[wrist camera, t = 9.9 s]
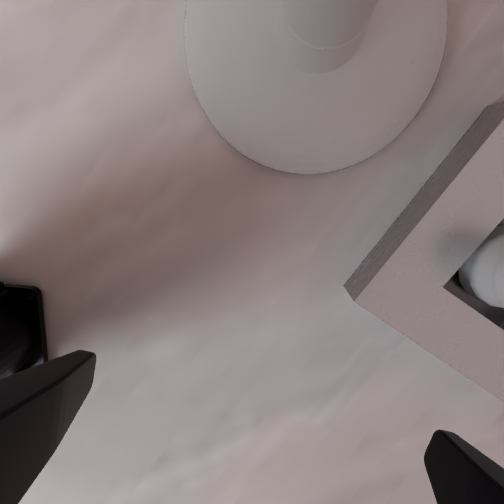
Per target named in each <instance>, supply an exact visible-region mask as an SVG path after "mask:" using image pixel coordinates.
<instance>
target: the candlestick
mask: <svg viewBox="0 0 504 504" xmlns="http://www.w3.org/2000/svg"><path fill="white" fill-rule="evenodd" d="M447 24H448V8H447V0H188V3H187V9H186V17H185V37H184V39H185V54H186V61H187V67H188V72H189V76H190V79H191V83H192V86H193V89H194V91H195V94H196V96H197V99H198V101H199V103H200V105H201V107H202V109H203V111H204V112H205V114H206V116H207V117H208V119H209V120H210V122H211V123H212V125H213V126H214V127H215V129H216V130H217V131H218V132H219V134H220V135H221V136H222V137H223V138H224V139H225V140H226V141H227V142H228V143H229V144H230V145H232V146H233V147H234V148H235V149H237V150H238V151H239V152H240V153H242V154H243V155H245V156H247V157H248V158H250V159H251V160H253V161H255V162H257V163H259V164H261V165H264V166H266V167H269V168H272V169H275V170H279V171H283V172H288V173H296V174H320V173H327V172H332V171H337V170H340V169H344V168H347V167H350V166H352V165H355V164H357V163H359V162H361V161H363V160H365V159H367V158H369V157H371V156H372V155H374V154H376V153H377V152H379V151H380V150H381V149H383V148H384V147H385V146H387V145H388V144H389V143H390V142H392V141H393V140H394V139H395V138H396V137H397V136H398V135H399V134H400V133H401V132H402V131H403V130H404V129H405V128H406V127H407V125H408V124H409V123H410V122H411V121H412V119H413V118H414V117H415V115H416V114H417V113H418V111H419V110H420V108H421V107H422V105H423V103H424V102H425V100H426V98H427V96H428V94H429V92H430V90H431V88H432V86H433V84H434V82H435V79H436V77H437V74H438V71H439V68H440V65H441V62H442V58H443V54H444V49H445V43H446V37H447Z"/></svg>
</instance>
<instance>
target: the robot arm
mask: <svg viewBox="0 0 504 504" xmlns="http://www.w3.org/2000/svg"><path fill="white" fill-rule="evenodd" d="M30 293H32V294H33V297H32V296H31V295H30ZM95 364H96V355H95V353H93V352H88V351H84V350H77V351H74V352H72V353H69V354H66V355H64V356H61V357H58V358H56V359H53V360H50V361H48V357H47V346H46V336H45V325H44V314H43V304H42V294H41V291H40V290H39V289H38V288H37V287H34V286H25V285H13V284H4V283H3V282H2V281H0V504H18V503H19V502H20V500H21V499H22V497H23V496H24V495H25V493H26V492H27V490H28V489H29V487H30V486H31V485H32V483H33V482H34V480H35V479H36V478H37V476H38V475H39V473H40V472H41V471H42V469H43V468H44V466H45V465H46V463H47V462H48V461H49V459H50V458H51V456H52V455H53V453H54V452H55V450H56V449H57V447H58V445H59V444H60V442H61V440H62V439H63V437H64V435H65V433H66V432H67V430H68V428H69V426H70V425H71V423H72V421H73V419H74V418H75V416H76V414H77V412H78V410H79V409H80V407H81V405H82V403H83V402H84V400H85V398H86V396H87V395H88V393H89V391H90V389H91V386H92V383H93V378H94V371H95ZM424 463H425V467H426V470H427V473H428V476H429V479H430V482H431V485H432V489H433V492H434V495H435V498H436V501H437V504H504V469H503V468H502V467H500V466H499V465H498V464H496V463H495V462H494V461H492V460H491V459H489V458H488V457H487V456H485V455H484V454H483V453H481V452H480V451H478V450H477V449H476V448H474V447H473V446H472V445H470V444H469V443H467V442H466V441H465V440H463V439H462V438H461V437H459V436H458V435H456V434H455V433H453V432H449V431H444V430H436V431H435V432H434V434H433V436H432V438H431V440H430V443H429V445H428V447H427V449H426V452H425V455H424Z"/></svg>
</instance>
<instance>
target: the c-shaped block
mask: <svg viewBox="0 0 504 504" xmlns="http://www.w3.org/2000/svg"><path fill="white" fill-rule="evenodd" d="M502 225H504V102H500V103H497V104H493V105H490V106H487V107H486V109H485V110H484V111H483V112H482V114H481V115H480V116H479V117H478V119H477V120H476V121H475V122H474V124H473V125H472V126H471V127H470V129H469V130H468V131H467V132H466V134H465V135H464V136H463V137H462V139H461V140H460V141H459V142H458V144H457V145H456V146H455V147H454V149H453V150H452V151H451V152H450V154H449V155H448V156H447V157H446V159H445V160H444V161H443V162H442V164H441V165H440V166H439V167H438V169H437V170H436V171H435V172H434V174H433V175H432V176H431V177H430V179H429V180H428V181H427V182H426V184H425V185H424V186H423V187H422V189H421V190H420V191H419V192H418V194H417V195H416V196H415V197H414V199H413V200H412V201H411V202H410V204H409V205H408V206H407V207H406V209H405V210H404V211H403V212H402V214H401V215H400V216H399V217H398V219H397V220H396V221H395V222H394V224H393V225H392V226H391V227H390V229H389V230H388V231H387V232H386V234H385V235H384V236H383V237H382V239H381V240H380V241H379V242H378V244H377V245H376V246H375V247H374V249H373V250H372V251H371V252H370V254H369V255H368V256H367V257H366V259H365V260H364V261H363V262H362V264H361V265H360V266H359V267H358V269H357V270H356V271H355V272H354V274H353V275H352V276H351V277H350V279H349V280H348V281H347V282H346V284H345V285H344V287H345V289H346V290H347V292H348V293H349V295H350V296H351V298H352V299H353V301H354V302H356V303H357V304H359V305H360V306H362V307H363V308H365V309H366V310H368V311H369V312H371V313H372V314H373V315H375V316H376V317H378V318H379V319H381V320H382V321H384V322H385V323H387V324H388V325H390V326H391V327H393V328H394V329H396V330H397V331H399V332H400V333H402V334H403V335H405V336H406V337H408V338H409V339H411V340H412V341H414V342H415V343H417V344H418V345H420V346H421V347H423V348H424V349H426V350H427V351H429V352H430V353H432V354H433V355H435V356H436V357H437V358H439V359H440V360H442V361H443V362H445V363H446V364H448V365H449V366H451V367H452V368H454V369H455V370H457V371H458V372H460V373H461V374H463V375H464V376H466V377H467V378H469V379H470V380H472V381H473V382H475V383H476V384H478V385H479V386H481V387H482V388H484V389H485V390H487V391H488V392H490V393H491V394H493V395H494V396H496V397H497V398H499V399H500V400H501V401H503V402H504V308H500V307H495V306H490V305H488V304H487V303H485V302H484V301H480V300H477V299H476V298H474V297H473V296H471V295H470V294H468V293H467V292H466V291H465V289H464V287H463V286H462V284H461V282H460V280H459V271H458V269H459V268H460V267H461V266H462V265H463V263H464V262H465V261H466V260H467V259H468V258H469V257H470V256H471V254H472V253H473V252H474V251H475V250H476V249H477V248H478V247H479V245H480V244H481V243H482V242H483V241H484V240H485V239H486V238H487V236H488V235H489V234H490V233H491V232H492V231H493V230H494V229H495V227H497V226H502Z"/></svg>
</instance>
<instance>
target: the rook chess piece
mask: <svg viewBox="0 0 504 504" xmlns="http://www.w3.org/2000/svg"><path fill="white" fill-rule="evenodd" d="M458 271H459V280H460V282H461V284H462V286H463V287H464V289H465V291H466V292H467V293H468V294H470V295H471V296H473V297H474V298H476V299H477V300H480V301H484V302H485V303H487V304H488V305H490V306H495V307H500V308H504V225H502V226H497V227H495V229H494V230H493V231H492V232H491V233H490V234H489V235H488V236H487V238H486V239H485V240H484V241H483V242H482V243H481V244H480V245H479V247H478V248H477V249H476V250H475V251H474V252H473V253H472V254H471V256H470V257H469V258H468V259H467V260H466V261H465V262H464V263H463V265H462V266H461V267H460V268H459V269H458Z"/></svg>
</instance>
